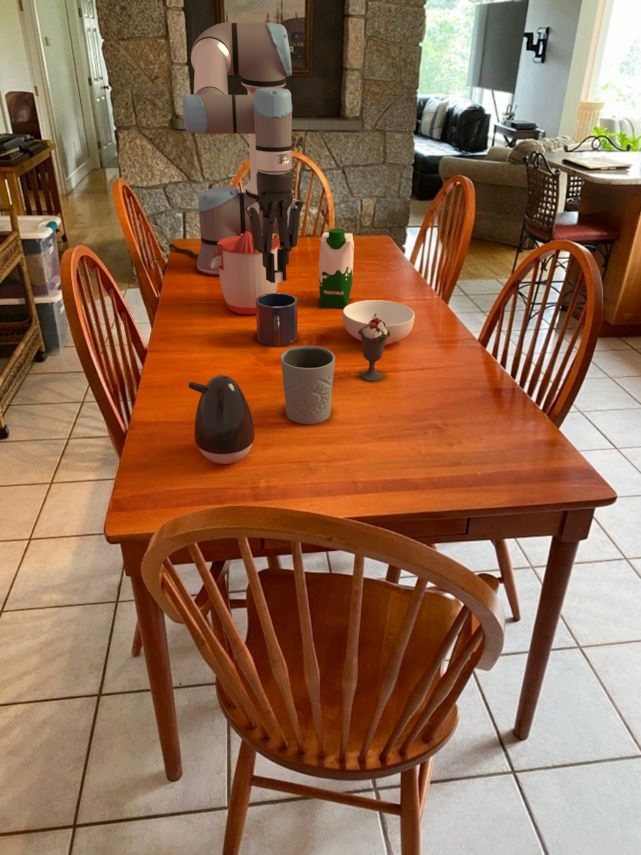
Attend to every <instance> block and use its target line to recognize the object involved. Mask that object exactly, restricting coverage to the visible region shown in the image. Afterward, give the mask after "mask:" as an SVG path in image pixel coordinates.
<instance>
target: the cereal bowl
mask: <svg viewBox="0 0 641 855" xmlns="http://www.w3.org/2000/svg"><path fill="white" fill-rule="evenodd" d="M342 309H343V310H342V323H343V327H344V329H345V331H346V332H347V333H348V334H349V335H351V336H352V337H353V338H355V339H357V340H359V341H360V342H362V340H361V335H359V334H358V331H359V330H360V329H361V328H363V327H366V326H367V325H368V323H369V322H370V321H371V320H372V319H375V317H376V318H379V319H380V320H381V321H383V322H384V323H385V328H386V329H388V330H389V332H390V337H388V338H386V341H385V345H384V346H388V345H390V344H393V343H395V342H399V341H401V340H403V339H405V338H406V337H407V336H408V335H409V334H410V333H411V331H412V330H413V327H414V324H415V320H416V319H415V318H416V316H415V312H414V310H413V309H412V308H411V307H409V306H408V305H405V304H403V303H400V302H395V301H391V300H381V299H369V300H368V299H367V300H360V301H356V302H355V301H354V302H351V303H348V305H347V306H346V307H345V308H342ZM375 313H376V316H374V314H375ZM373 317H374V318H373Z"/></svg>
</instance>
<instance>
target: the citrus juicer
mask: <svg viewBox="0 0 641 855" xmlns="http://www.w3.org/2000/svg"><path fill="white" fill-rule="evenodd" d="M279 247H280V242H278V241H277V240H276V239H274V238H272V247H271V253H273V254H274V264H275V270H277V249H279ZM217 253H218V257H215V258H213V259H212V262H211V268H217V267H219V276H218V277H219V284H220V288H221V292H222V295H223V298H224V302H225V305H226V306H227V308H228V309H229V311H231V312H233V313H236V314H238V315H256V298H258V297H259V296H261V295H264V294H269V293H278V286H279V283H276V284H275V283H271V282H269V281H268V280H266V268H265V267H263V262H262V253H261V252H259V251H257V250H255V249H254V246H253V239H252V234H251V233H250V232H248V231H246V232H245V233H244V234H241V235H240V236H234V237H229V238H225V239H222V240H220V241H219V242H218V243H217Z"/></svg>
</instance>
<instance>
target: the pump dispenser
mask: <svg viewBox="0 0 641 855" xmlns="http://www.w3.org/2000/svg"><path fill="white" fill-rule="evenodd" d="M187 385H188V389H191V390H193V391H196V392H198V393H200V397H199V400H198V403H197V406H196V410H195V416H194V417H195V418H194V428H193V429H194V430H193V432H194V433H193V436H194V442H195V445H196V446H197V448H198V450H199V452H201V454H202V456H203V457H205V458H206V459H207V460H208V461H210V462H212V463H214V464H219V465H220V464H221V465H223V464H224V465H227V464H233V463H236V462H238V461H240V460H242V459H243V458H245V457H246V456H247V454H248V453H249V452H250V450H251V448H252V446H253V443H254V441H255V438H256V432H255V430H256V429H255V425H254V420H253V415H252V411H251V408H250V405H249V403H248V400H247V398H246V396H245V394H244V392H243V390H242V389H241V387H240V385H239V384H238V383H237V382H236V381H235V380H234V378H232V377H230V376H228V375H224V374H220V375H215V376H213V377H211V378H210V379H209V380H208V381H207V383H206V384H202V383H198V382H194V381H189V383H188V384H187Z"/></svg>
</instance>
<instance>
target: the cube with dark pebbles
mask: <svg viewBox="0 0 641 855" xmlns="http://www.w3.org/2000/svg"><path fill="white" fill-rule="evenodd" d="M283 282H284V281H283V272H281V271H278V270H275V284H276V283H278V284H280V283H283Z"/></svg>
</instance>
